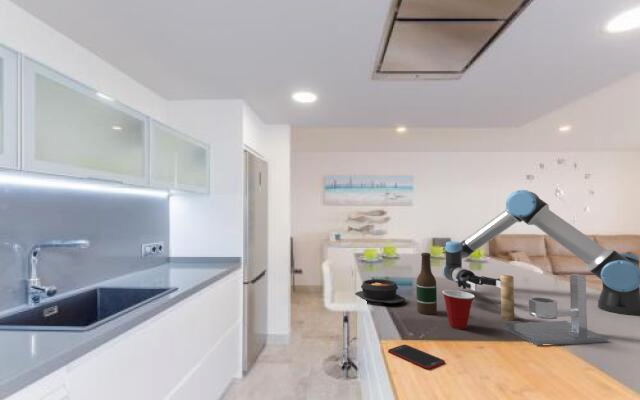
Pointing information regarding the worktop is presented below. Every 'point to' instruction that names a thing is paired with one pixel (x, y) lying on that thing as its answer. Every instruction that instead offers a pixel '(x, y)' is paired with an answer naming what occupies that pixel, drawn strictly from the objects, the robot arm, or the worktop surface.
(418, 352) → the cell phone
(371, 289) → the casserole
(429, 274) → the beer bottle
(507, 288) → the brown wooden cylinder
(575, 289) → the cup bracket
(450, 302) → the plastic cup
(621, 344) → the worktop surface
